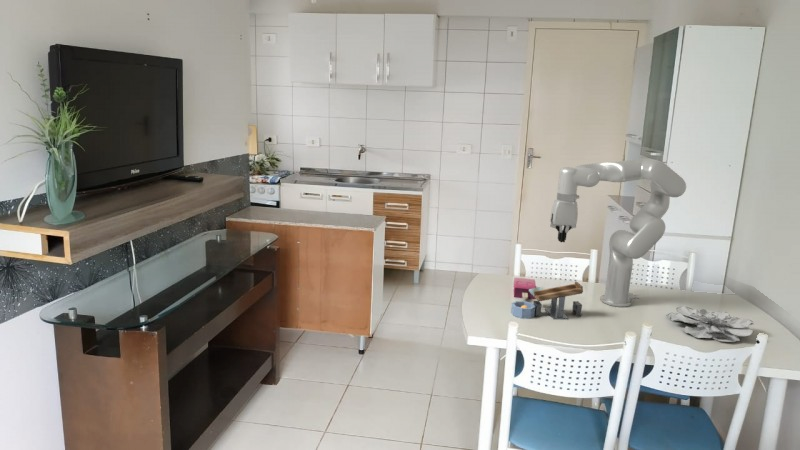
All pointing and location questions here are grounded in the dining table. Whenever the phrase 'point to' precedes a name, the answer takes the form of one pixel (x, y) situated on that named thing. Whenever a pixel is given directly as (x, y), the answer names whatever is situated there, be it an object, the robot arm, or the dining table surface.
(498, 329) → the dining table surface
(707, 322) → the decorative wall flower
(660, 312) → the dining table surface
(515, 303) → the cup
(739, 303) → the dining table surface
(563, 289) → the lever
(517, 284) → the popsicle
